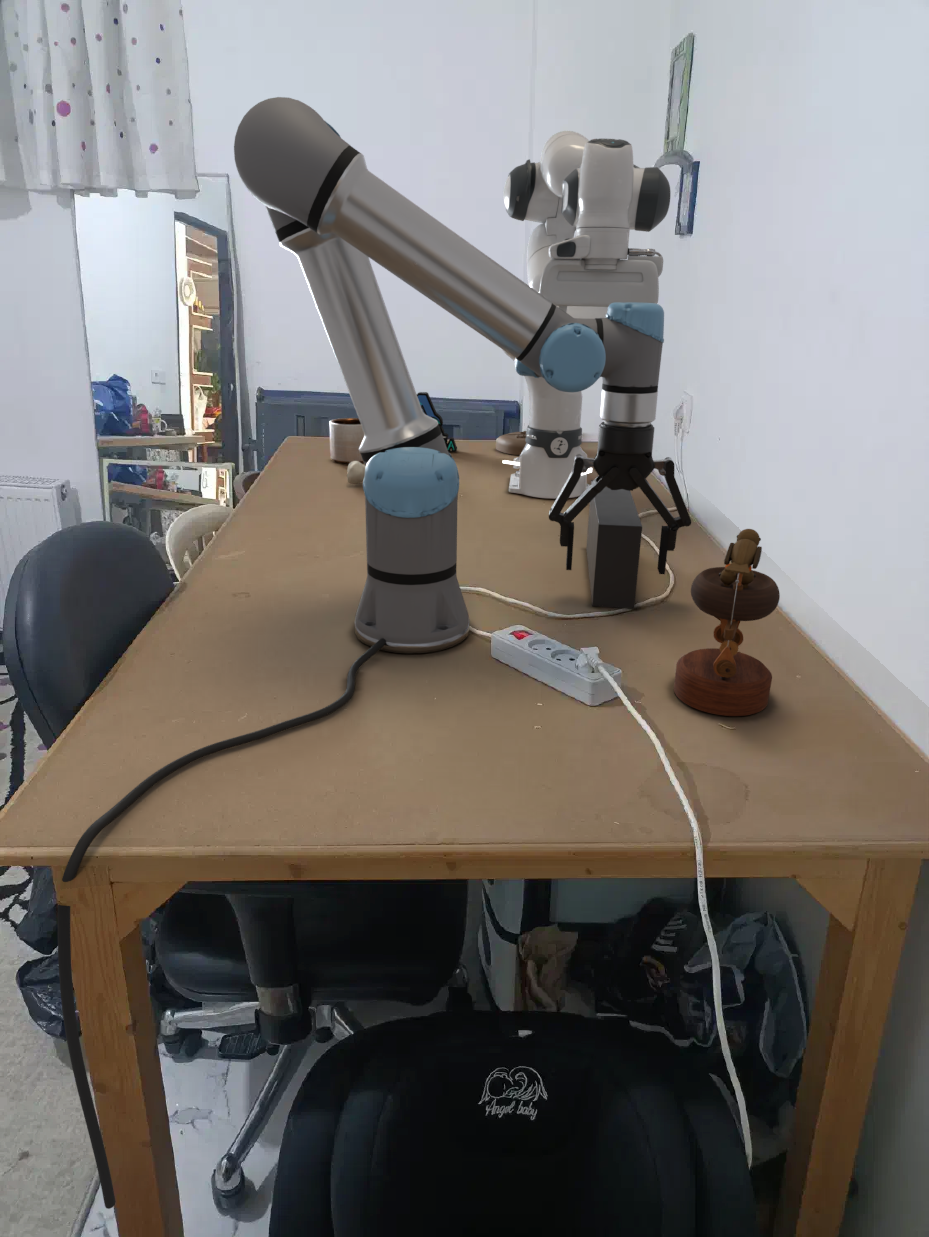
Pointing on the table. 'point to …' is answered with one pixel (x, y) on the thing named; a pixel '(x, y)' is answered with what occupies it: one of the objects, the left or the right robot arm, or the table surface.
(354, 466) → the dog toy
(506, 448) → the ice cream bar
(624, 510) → the box
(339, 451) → the planter
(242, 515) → the table surface
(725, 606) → the music box
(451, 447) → the decorative sign
